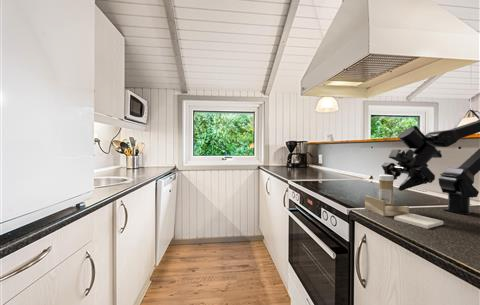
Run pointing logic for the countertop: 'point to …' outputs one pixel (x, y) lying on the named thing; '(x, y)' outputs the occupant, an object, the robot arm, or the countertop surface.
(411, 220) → the cream tile
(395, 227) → the countertop surface
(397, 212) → the bottle holder
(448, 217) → the countertop surface
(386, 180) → the sprinkles bottle
